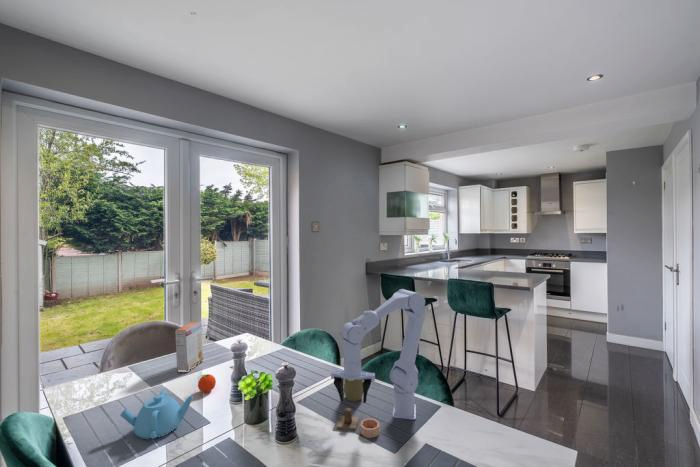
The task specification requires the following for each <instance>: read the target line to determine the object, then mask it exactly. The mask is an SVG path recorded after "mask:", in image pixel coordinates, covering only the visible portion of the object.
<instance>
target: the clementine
mask: <svg viewBox="0 0 700 467" xmlns="http://www.w3.org/2000/svg"><path fill="white" fill-rule="evenodd" d="M199 378H200V379H199ZM197 380H198V382H197V388H198V389H199V391H200V392H202V393H209V392H211V391H212V390H214V388H215V387H216V385H217V384H216V382H217V381H216V378H215V376H214V375H212V374H202V375H201V376H200V377H198V378H197Z"/></svg>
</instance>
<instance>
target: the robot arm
mask: <svg viewBox="0 0 700 467" xmlns="http://www.w3.org/2000/svg"><path fill="white" fill-rule="evenodd" d="M425 305H426V299H425V297H424V296H423V294H422V293H420V292H415V291H412V290H408V289H405V288H401V289H398V290H397V291H396V292H394V293H393V295H392V296H391V297H390V298H388V300H386V301H385V302H383V304H381V305H379V307H377V308H376V309H374V310H365V311H363V312H362V313H363V314H361V315H360V316H359V317H357V318H354V319H353V320H352V321H351V322H346V323H344V324H343V326H342V327H341V329H340V331H339V334H340V336H341V338H342V340H343V343H342V344H343V370H341V369H340V370H331V372H330V379H332V380H333V385H334V386H335V389H336V390H337V392H338V396H339V400H340V402H344V399H345V393H344V379H348V380H349V381H353V380H355V379H356V380H363V395H362V398H363V399H362V401H363V402H362V403H363V404H366V403H367V398H368V393H369V390H370V387H371V385H372V382H375V380H376V373H375V372H368V371H366V370H365V371H364V370H362V350H361V349H362V345H361V344H362V343H361V342H362V341H363V340H364V337H365V336H366V334H367V333H369V332H370V331H371V330H373V329H374V328H376V327H377V326H379V324H380V320H381V319H383V318H384V317H386V316H387V315H390V314H391V313H393V312H394V311H396V310H400V309H401V310H403V311H405V313H406V314H407V317H408V319H407V323H406V327H405V333H404V337H403V342H402V347H401V351H400V355H399V359H398V360H396V361H394V363H393V367H392V368H391V370H390V372H389V380H390V382H392V387H393V403H394V404H393V409H392V410H393V411H392V418H397V419H404V420H405V419H407V420H412V421H413V420H414V421H415V420H416V418H417V417H416V416H417V405H416V404H415V392H416V390H417V388H418V385H419V369H418V368H417V366H416V364H415V363H416V359H417V353H418V349H419V343H420V339H421V334H422V330H423V326H424V325H423V324H424V320H425V315H426V314H425ZM361 370H362V371H361Z"/></svg>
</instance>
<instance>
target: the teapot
mask: <svg viewBox="0 0 700 467" xmlns="http://www.w3.org/2000/svg"><path fill="white" fill-rule="evenodd" d="M193 397H194V396H193V395H192V396H187V398H186V399H185V400H184V402H183V404H182V405H180V404H179V402H177V400H176V399H175V398H174V397H173V396H171V395H167V391H166V390H161V391H160V393H159V394H157V395H155V396H153V397H152V398H150V399H148V400H146V402H144V404H142V407H141V408H140V410H139V412H138V414H136V415H137V416H136V415H134V414H133V413H132V412H131V411H129V409H127V408H124V410H123V411H122V412H121V413H120V414H119V416H120V417H121V418H123V419H124V420H125V421H126V422H127V423H128V424H130V425H131V426H132V427H133V432H134V434H135V435H136V436H137V437H139V438H141V437H142V438H141V439H143V438H152V439H151V440H154V438H155V439H157V438H156V437H159V436H162V435H165V434H167V433H169V434H171V433H172V432H173V430H174V429H175V428H176V429H177V428H178V427H179V425H180V424H181V422H182V420H183V419H184V418H185V416H186V413H187V412H188V409H189V407H190V405H191V402H192V400H193ZM176 429H175V430H176ZM175 430H174V431H175ZM171 431H172V432H171ZM170 432H171V433H170ZM167 435H168V434H167ZM165 436H166V435H165ZM162 437H163V436H162ZM159 438H160V437H159Z"/></svg>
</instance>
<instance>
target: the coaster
mask: <svg viewBox="0 0 700 467" xmlns="http://www.w3.org/2000/svg"><path fill="white" fill-rule="evenodd" d="M341 416H342V415H338V416H337V419H336V421H335V423H334V426H333V428H332V430H331V431H332V432H341V433H350V434H360V432H361V431H360V425H361V421H362V420H364V417H359V416H358V417H359V422H358V425H357V428H356V431H354V430H345V429H337V425H338V422H339V420H340V418H341Z"/></svg>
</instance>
